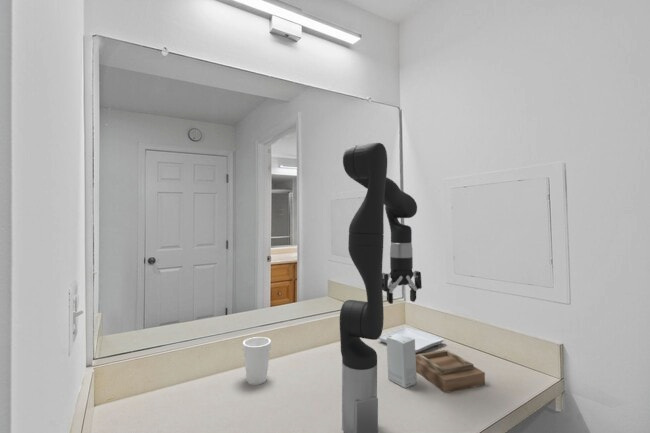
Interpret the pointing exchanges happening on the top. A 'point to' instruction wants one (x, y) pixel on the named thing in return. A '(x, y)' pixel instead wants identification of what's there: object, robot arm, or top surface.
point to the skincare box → (401, 360)
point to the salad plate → (420, 337)
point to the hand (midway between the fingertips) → (401, 302)
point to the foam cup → (256, 358)
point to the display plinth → (448, 371)
